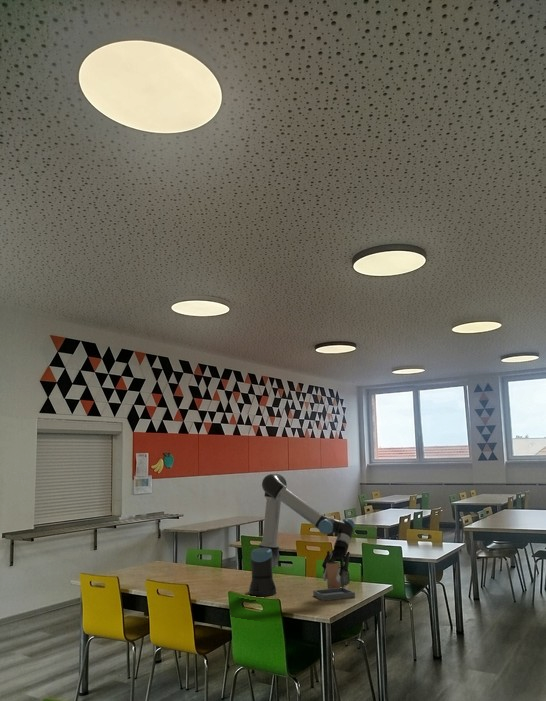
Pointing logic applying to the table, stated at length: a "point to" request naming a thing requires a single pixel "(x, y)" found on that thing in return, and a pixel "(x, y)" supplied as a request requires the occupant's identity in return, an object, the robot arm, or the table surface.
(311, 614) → the table surface
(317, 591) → the grey square tray
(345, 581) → the beverage carton
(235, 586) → the table surface
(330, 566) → the terracotta cup
